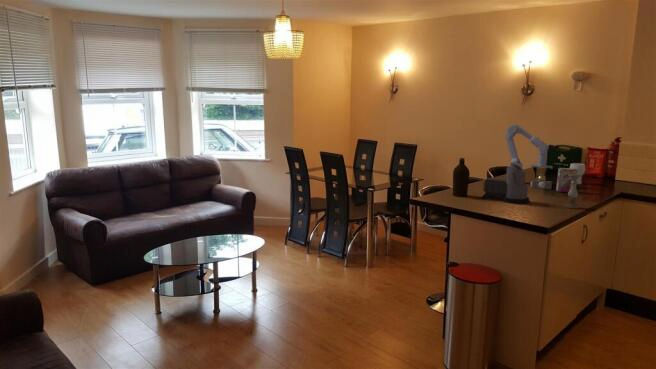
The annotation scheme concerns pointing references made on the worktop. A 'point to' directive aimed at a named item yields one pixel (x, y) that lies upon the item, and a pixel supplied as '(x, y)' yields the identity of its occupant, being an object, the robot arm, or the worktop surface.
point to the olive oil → (460, 179)
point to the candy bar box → (564, 179)
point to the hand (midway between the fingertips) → (540, 177)
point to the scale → (541, 184)
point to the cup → (578, 170)
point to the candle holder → (573, 192)
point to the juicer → (508, 187)
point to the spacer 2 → (541, 178)
